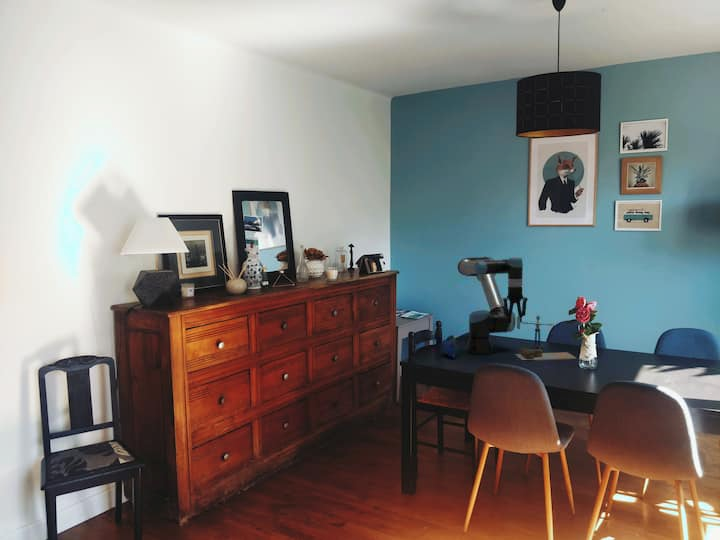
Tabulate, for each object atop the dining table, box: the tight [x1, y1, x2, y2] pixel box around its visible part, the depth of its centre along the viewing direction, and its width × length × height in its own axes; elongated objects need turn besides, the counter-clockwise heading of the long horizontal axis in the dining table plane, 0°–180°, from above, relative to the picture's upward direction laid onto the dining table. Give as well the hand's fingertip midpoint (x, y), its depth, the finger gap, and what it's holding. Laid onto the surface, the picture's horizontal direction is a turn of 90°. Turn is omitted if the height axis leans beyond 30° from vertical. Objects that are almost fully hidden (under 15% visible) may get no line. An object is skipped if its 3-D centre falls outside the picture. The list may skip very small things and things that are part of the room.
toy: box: [440, 334, 459, 359], centre depth 317 cm, size 11×10×15 cm
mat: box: [514, 351, 577, 361], centre depth 311 cm, size 30×12×1 cm, turn 93°
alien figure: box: [521, 315, 555, 349], centre depth 331 cm, size 20×5×19 cm, turn 62°
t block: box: [520, 347, 543, 359], centre depth 310 cm, size 10×10×4 cm
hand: (514, 328), depth 308 cm, fingers open, 3 cm apart
